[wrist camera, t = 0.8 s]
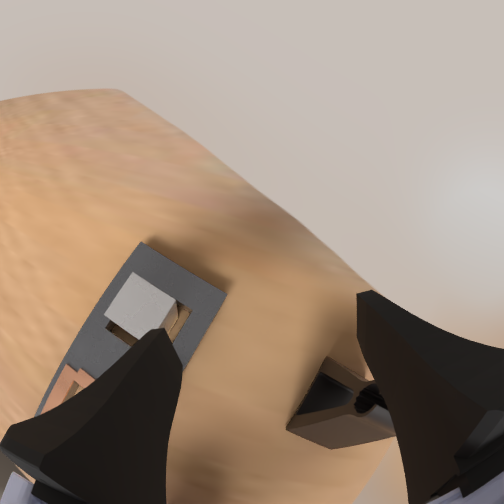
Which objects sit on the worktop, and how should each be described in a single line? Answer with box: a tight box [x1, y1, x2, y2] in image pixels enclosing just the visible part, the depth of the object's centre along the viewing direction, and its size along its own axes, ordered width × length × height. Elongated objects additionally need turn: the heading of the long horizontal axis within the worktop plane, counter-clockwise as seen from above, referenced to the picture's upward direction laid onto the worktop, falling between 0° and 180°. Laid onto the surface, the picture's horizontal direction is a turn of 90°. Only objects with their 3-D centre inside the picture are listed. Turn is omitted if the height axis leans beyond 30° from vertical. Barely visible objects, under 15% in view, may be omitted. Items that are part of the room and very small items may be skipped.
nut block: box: [104, 272, 178, 339], centre depth 22 cm, size 4×4×7 cm
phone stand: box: [286, 357, 396, 449], centre depth 20 cm, size 9×6×12 cm, turn 148°
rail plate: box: [34, 242, 227, 417], centre depth 21 cm, size 24×10×2 cm, turn 153°
